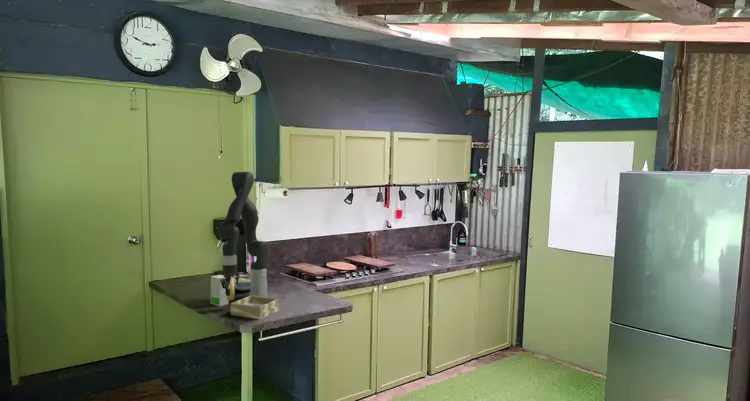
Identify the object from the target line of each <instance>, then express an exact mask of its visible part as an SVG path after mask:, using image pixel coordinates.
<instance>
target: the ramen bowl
mask: <svg viewBox="0 0 750 401" xmlns="http://www.w3.org/2000/svg"><path fill="white" fill-rule="evenodd" d="M236 273H237V274H239V280H238V284H237V285H236V286H235V290H237V291H244V292H245V291H246V292H247V291H249V290H250V274H251V273H241V272H236ZM267 278H269V276H268V275H267Z"/></svg>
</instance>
